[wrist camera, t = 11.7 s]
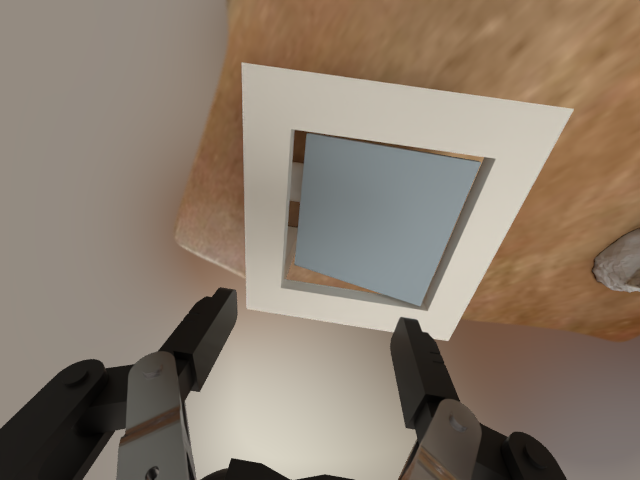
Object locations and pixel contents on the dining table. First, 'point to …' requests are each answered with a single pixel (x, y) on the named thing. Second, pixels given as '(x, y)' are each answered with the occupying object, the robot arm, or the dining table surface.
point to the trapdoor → (378, 213)
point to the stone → (620, 264)
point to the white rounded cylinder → (296, 181)
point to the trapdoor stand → (396, 128)
